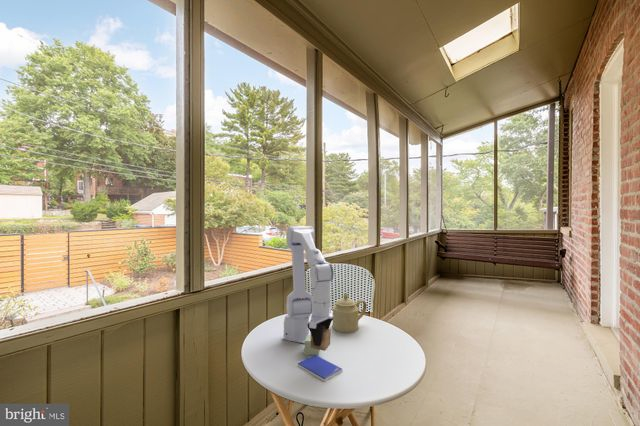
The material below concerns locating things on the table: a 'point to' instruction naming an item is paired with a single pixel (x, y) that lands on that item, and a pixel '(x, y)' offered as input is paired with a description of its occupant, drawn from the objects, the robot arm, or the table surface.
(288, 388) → the table surface
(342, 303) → the beige teapot
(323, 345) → the walnut cube
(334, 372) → the hard drive
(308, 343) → the sage cube
